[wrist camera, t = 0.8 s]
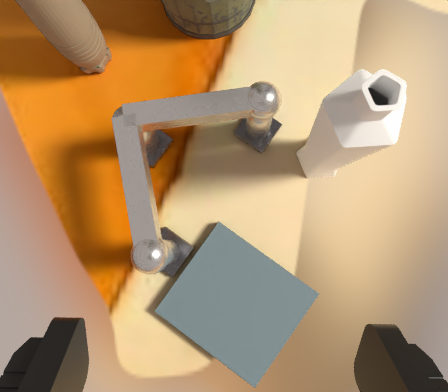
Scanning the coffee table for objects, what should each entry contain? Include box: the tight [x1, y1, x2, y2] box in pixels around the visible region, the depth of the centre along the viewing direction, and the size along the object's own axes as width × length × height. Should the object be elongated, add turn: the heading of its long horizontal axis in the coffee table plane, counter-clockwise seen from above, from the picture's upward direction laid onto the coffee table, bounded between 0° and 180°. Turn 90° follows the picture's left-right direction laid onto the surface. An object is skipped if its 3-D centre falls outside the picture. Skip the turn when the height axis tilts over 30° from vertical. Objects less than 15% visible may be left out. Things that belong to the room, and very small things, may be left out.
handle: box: [15, 0, 112, 74], centre depth 28 cm, size 5×6×15 cm
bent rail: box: [112, 81, 282, 277], centre depth 29 cm, size 16×10×8 cm, turn 144°
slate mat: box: [155, 222, 319, 388], centre depth 31 cm, size 9×10×1 cm
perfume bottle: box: [296, 69, 407, 178], centre depth 26 cm, size 5×4×15 cm
